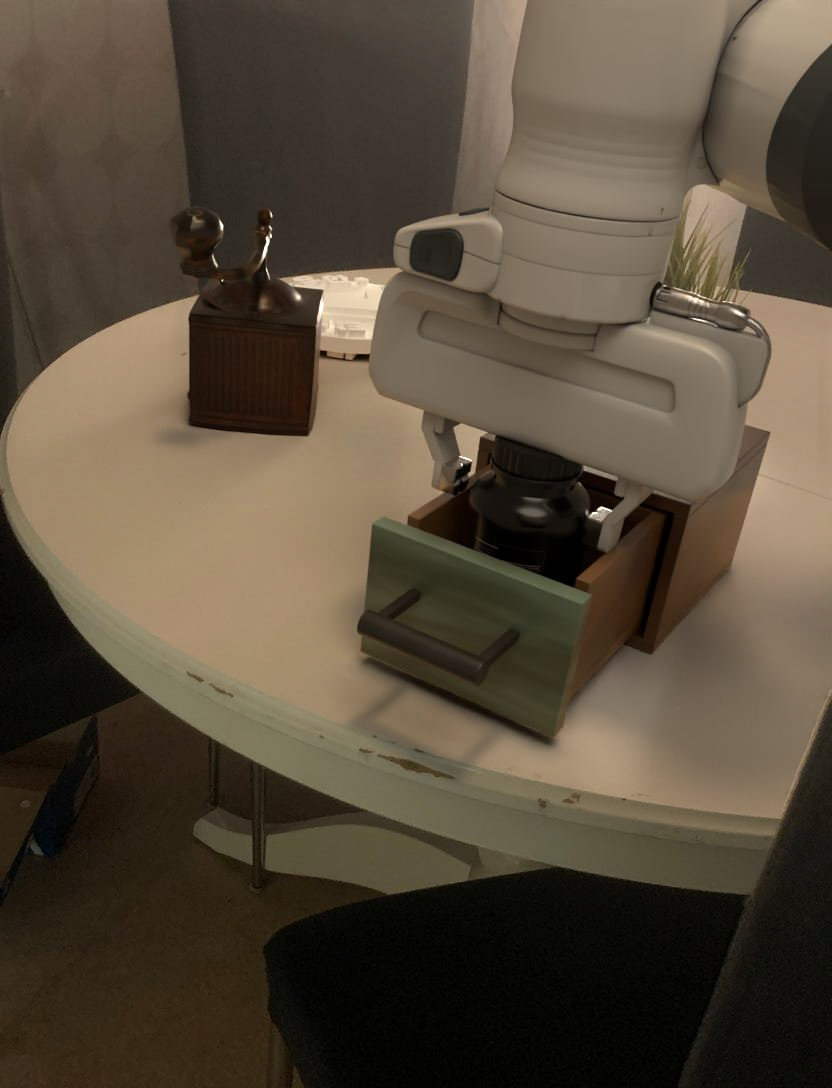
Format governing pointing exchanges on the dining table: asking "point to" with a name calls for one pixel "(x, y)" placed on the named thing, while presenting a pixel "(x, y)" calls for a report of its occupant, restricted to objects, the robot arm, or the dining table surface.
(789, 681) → the dining table surface
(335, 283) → the white wall clock
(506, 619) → the drawer
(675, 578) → the cabinet
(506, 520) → the supplement bottle
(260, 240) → the coffee grinder
